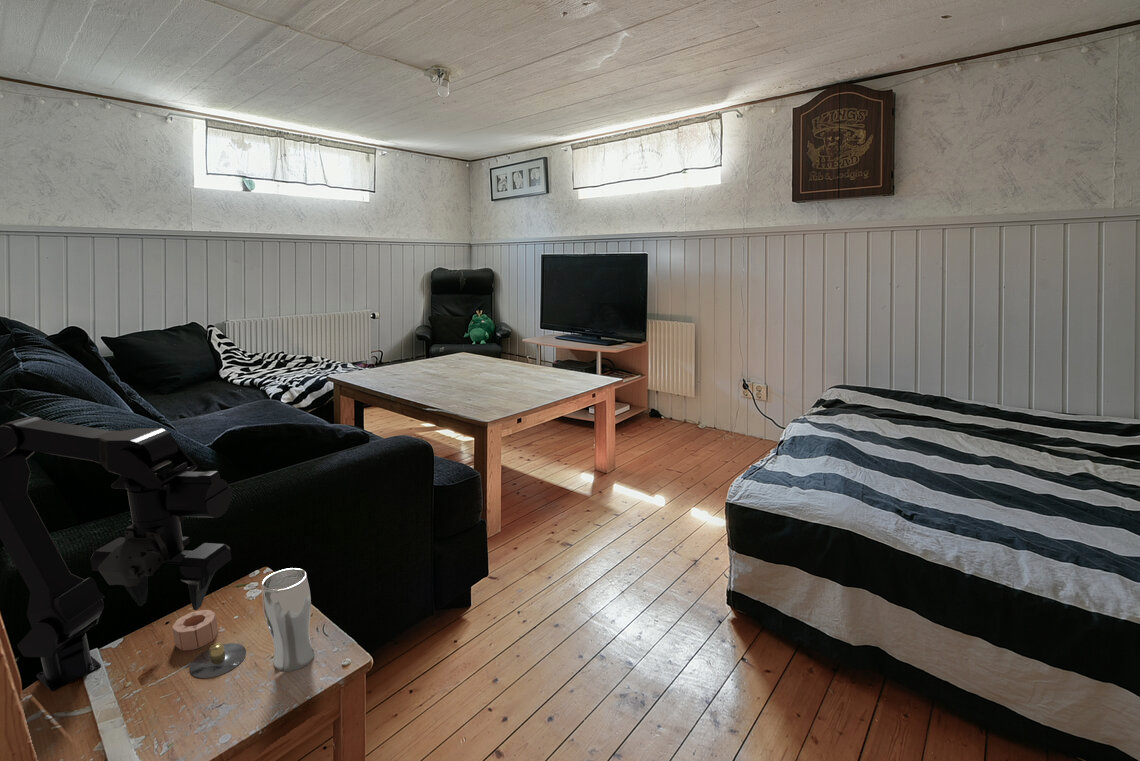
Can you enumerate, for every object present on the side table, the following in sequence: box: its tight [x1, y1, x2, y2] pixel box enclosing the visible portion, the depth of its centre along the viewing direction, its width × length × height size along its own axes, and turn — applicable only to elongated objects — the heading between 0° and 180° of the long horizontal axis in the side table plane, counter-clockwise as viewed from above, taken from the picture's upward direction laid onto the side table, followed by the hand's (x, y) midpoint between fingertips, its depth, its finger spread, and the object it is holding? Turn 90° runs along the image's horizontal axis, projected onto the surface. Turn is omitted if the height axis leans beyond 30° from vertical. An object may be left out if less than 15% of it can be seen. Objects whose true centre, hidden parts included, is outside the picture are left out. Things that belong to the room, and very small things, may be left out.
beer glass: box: [261, 567, 315, 673], centre depth 94 cm, size 7×7×15 cm
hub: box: [189, 642, 247, 679], centre depth 94 cm, size 8×8×3 cm
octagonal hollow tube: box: [171, 609, 219, 651], centre depth 100 cm, size 6×6×4 cm
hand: (169, 606), depth 89 cm, fingers open, 9 cm apart
